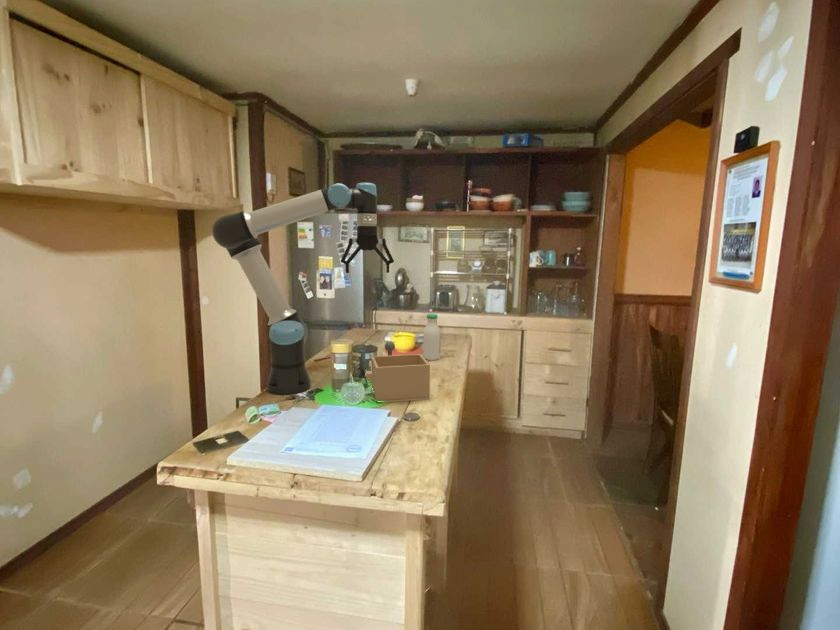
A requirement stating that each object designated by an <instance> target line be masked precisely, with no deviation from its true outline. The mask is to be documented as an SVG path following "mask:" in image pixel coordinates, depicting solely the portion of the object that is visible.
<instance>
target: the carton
mask: <svg viewBox="0 0 840 630" xmlns="http://www.w3.org/2000/svg"><path fill="white" fill-rule="evenodd" d="M370 359H371V361H370V362H371V371H372V382H371V389H372V388H373V391H374V394H375V397H374V399H375V398H376V400H375V402H376V401H385V402H384V403H394V402H396V403H397V402H407V401H409V402H410V401H420V400H422V401H423V400H430V395H431V394H430V392H431V391H430V388H431V387H430V383H431V382H430V381H431V379H430V378H431V375H430V374H431V365H430V363H429V362H428V360H426V359H425V358H424V357H423V354H422V353H416V354H415V353H413V354H392V355H391V356H388V355H375V356H374V355H373V356H371V357H370ZM373 391H372V392H373ZM374 394H373V395H374Z"/></svg>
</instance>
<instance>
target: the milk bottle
mask: <svg viewBox="0 0 840 630" xmlns="http://www.w3.org/2000/svg"><path fill="white" fill-rule="evenodd" d="M426 320H427V323H426V325H425V327H424V329H423V335H422V336H423V337H422V338H423V340H422V356H423V357H424V358H425V360H426V359H427V360H426V361H437V359H438V360H440V358H441V329H440V326H439V325H438V314H436V313H429V314H427V315H426Z"/></svg>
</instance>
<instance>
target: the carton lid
mask: <svg viewBox="0 0 840 630" xmlns="http://www.w3.org/2000/svg"><path fill="white" fill-rule="evenodd" d="M395 347H396V345H395V343H394V342H393V341H390V340H389V341H386V342H385V344H384V349H385V351H387V356H391V355H393V351H394V350H395ZM366 380H367V381H372V371H366V379H365V381H366Z"/></svg>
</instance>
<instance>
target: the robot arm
mask: <svg viewBox="0 0 840 630" xmlns="http://www.w3.org/2000/svg"><path fill="white" fill-rule="evenodd" d="M355 185H356V186H355V188H352V187H351V188H349V187H348V186H347V185H345V184H343V183H341V182H340V183H334V184H332V185H331V186H328V187H325V188H321V189H319V190H318V189H317V190H315V191H313V192H308V193H306V194H303V195H300V196H297V197H294V198H290V199H287V200H285V201H281V202H278V203H275V204H271V205H268V206H266V207H265V206H264V207H262V208H258V209H257V210H252V211H246V210H243V211H238V212H235V213H231V214H224V215H222V216H220V217H218V218H217V219H216V220H215V221H214V222H213V225H212V227H211V233H212V236H213V237H212V238H213V240H214V241H215V243H217V244H218V245H219V246H220V247H222V248H224V249H226V251H227V252H228V255H229V256H230V258H231V259H233V260H236V261H238V263H239V265H240V267H241V270H242V271H243V272H244V274H245V276H246V278H247V279H248V281H249V284H250V285H251V287H252V289H253V292H254V293H255V295H256V296H257V298H258V300H259V303H261V304H260V305H261V306H262V307H263V309H264V312H265V313H266V315H267V317H268V322H267V326H268V327H269V332H268V338H269V346H270V347H269V348H270V349H269V351H270V352H269V353H270V371H269V375H268V379H267V381H266V390H267V391H268V393H271V394H274V395H292V394H299V393H304V392H306V391H307V390H309V389H310V388H311V386H312V385H311V383H312V381H311V378H310V377H311V376H310V375H309V373H308V369H307V367H306V360H305V351H306V350H305V344H306V341H307V339H308V336H309V329H308V327H307V324H306V323H305V322H304V320H302V318H301V317H300V315H299V313H298V311H297V310H296V309H294V308H291V307H290V305H289V304H288V301H287V298H286V297H285V295H284V294H283V291H282V289H281V288H280V286H279V284H278V282H277V281H276V279H275V277H274V276H275V275H274V274H273V273H272V271H271V269H270V267H269V264H268V263H267V261H266V260H265V259H266V258H264V255H263V254H262V252H261V248H262V242H261V241H260V239H259V237H258V236H259V234H264V233H266V232H269V231H272V230H276V229H280V228H282V227H284V226H285V227H286V226H287V225H292V224H294V223H297V222H300V221H303V220H305V219H309V218H312V217H315V216H317V215H321V214H324V213H327V212H331V211H334V210H356V224H357V225H358V226H357V227H356V234H357V235H356V238H355V239H354V238H348V244H347V247H346V249H344V250H345V251H344V253H343V255H342V257H341V258H340V263H341V264H344V266H345V273H346V274H348V283H352V269H351V268H352V264H351V262H352V261H353V260H354V258H355V257H356V256H357V255H358V253H359V252H360V251H374V252H375V253H376V254H377V255H378V256H379V257H380V258H381V260H382V261H383V262H384V264H383V282H388V281H387V280H388V279H387V278H388V277H387V274H389V273H390V265H391V264H393V263H394V262H395V260H394V257H393V256H392V254H391V251H390V250H389V248H388V245H387V242H386V238H380V239H379V238H378V227H377V226H376V225H377V224H378V220H377V219H378V218H377V217H378V216H377V214H378V211H377V210H378V196H377V192H378V191H377V185H376V184H375V183H373V182H359V183H357V184H355ZM355 243H356V244H357V247H356V248H355V250H354V251H353V252H352V254H351V255H350V256H349V257H348V255H349V252H350V250H351V248H352V247H353V245H354V244H355ZM378 243H379V244H380V245H381V246H382V248H383V250H384V253H385V254H386V256H387V257H388V258H386V256H384V254H383V253H382V251H381V250H380V249H379V248H378V247H377V245H378ZM347 257H348V258H347Z"/></svg>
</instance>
